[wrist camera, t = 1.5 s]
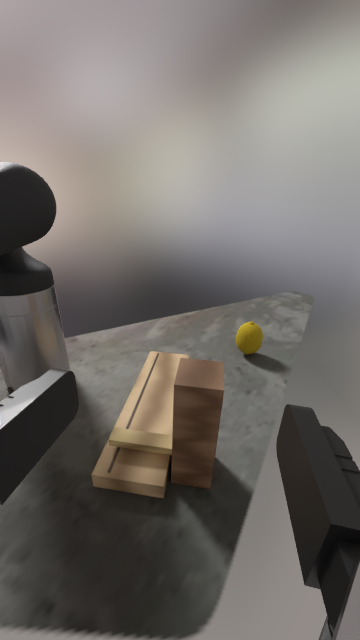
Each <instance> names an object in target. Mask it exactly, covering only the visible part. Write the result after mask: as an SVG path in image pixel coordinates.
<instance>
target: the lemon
mask: <svg viewBox="0 0 360 640" xmlns="http://www.w3.org/2000/svg"><path fill="white" fill-rule="evenodd" d="M262 340H263V334H262V330H261V328H260V327H259V326H258V325H257V324H255V323H254V322H249V323H245V324H243V325H242V326H241V327H240V328H239V330H238V332H237V335H236V344H237V347H238V348H239V350H240V351H242V352H243V353H245V354H246V355H248V354H252V353H255V352H256V351H258V350H259V348H260V347H261V344H262Z"/></svg>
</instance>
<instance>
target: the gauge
mask: <svg viewBox="0 0 360 640" xmlns="http://www.w3.org/2000/svg"><path fill="white" fill-rule="evenodd" d="M223 394H224V380H223V362H217V361H207V360H198V359H188V358H180V362H179V366H178V370H177V374H176V378H175V382H174V398H173V433H172V435H166V434H159V433H151V432H144V431H137V430H130V429H123V428H116V427H114V429H113V431H112V433H111V435H110V437H109V439H108V442H109V446H115V447H121V448H128V449H134V450H141V451H148V452H154V453H161V454H168V455H172V467H171V483H175V484H181V485H187V486H193V487H199V488H205V489H211V482H212V475H213V467H214V460H215V453H216V445H217V438H218V431H219V424H220V416H221V409H222V402H223Z"/></svg>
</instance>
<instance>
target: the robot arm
mask: <svg viewBox="0 0 360 640" xmlns="http://www.w3.org/2000/svg"><path fill="white" fill-rule="evenodd" d="M55 216H56V201H55V198H54V195H53V192H52V190H51V189H50V187H49V186H48V184H47V183H46V182H45V181H44V179H43V178H42V177H40V176H39V175H38V174H37V173H36V172H34V171H32V170H31V169H29V168H27V167H24V166H22V165H19V164H15V163H11V162H0V367H1V370H2V373H3V376H4V379H5V382H6V385H7V387H11V388H12V389H13V391H14V392H13V393H12V394H11V395H9V397H8V398H5V399H4V400H3V401H1V402H0V504H1V505H2V504H3V503H4V502H5V501H6V500H7V498H8V497H9V496H10V495H11V494H12V492H13V491H14V490H15V489H16V488H17V486H18V485H19V484H20V483H21V481H22V480H23V479H24V478H25V477H26V475H27V474H28V473H29V472H30V471H31V469H32V468H33V467H34V466H35V465H36V463H37V462H38V461H39V460H40V459H41V457H42V456H43V455H44V454H45V452H46V451H47V450H48V449H49V448H50V446H51V445H52V444H53V443H54V442H55V440H56V439H57V438H58V437H59V436H60V434H61V433H62V432H63V431H64V430H65V428H66V427H67V426H68V425H69V423H70V422H71V421H72V420H73V419H74V417H75V415H76V413H77V410H78V396H77V389H76V381H75V375H74V373H73V372H72V371H70V367H69V361H68V356H67V350H66V345H65V340H64V334H63V329H62V324H61V318H60V313H59V308H58V302H57V297H56V292H55V286H54V280H53V275H52V271H51V269H50V268H49V267H48V266H47V265H46V264H43V263H41V262H40V261H37V260H36V259H34V258H32V257H31V256H30V255H28V254H27V253H26V252H25V251H24V250H23V248H22V246H25V245H27V244H30V243H32V242H34V241H37V240H39V239H40V238H42V237H43V236H45V235H46V234H47V233H48V231H49V230H50V229H51V227H52V225H53V223H54V220H55ZM277 458H278V462H279V467H280V472H281V477H282V481H283V486H284V491H285V495H286V500H287V505H288V509H289V514H290V519H291V524H292V528H293V533H294V538H295V542H296V547H297V552H298V556H299V561H300V565H301V570H302V575H303V580H304V584H305V585H307V586H310V587H314V588H318V589H321V592H322V596H323V600H324V604H325V608H326V612H327V618H326V620H325V623H324V626H323V629H322V632H321V635H320V637H319V640H360V471H359V469H358V467H357V466H356V463H355V462H354V461H353V460H352V456H351V454H350V452H349V450H348V449H347V447H346V445H345V443H344V441H343V440H342V439H341V438H340V437H339V436H338V435H337V434H336V433H335V432H333V430H332V429H331V428H330V427H326V426H321V425H320V423H319V421H318V419H317V417H316V415H315V413H314V411H313V409H312V408H308V407H302V406H296V405H289V404H287V405H286V407H285V409H284V413H283V417H282V421H281V425H280V429H279V433H278V437H277Z"/></svg>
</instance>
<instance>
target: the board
mask: <svg viewBox="0 0 360 640" xmlns="http://www.w3.org/2000/svg"><path fill="white" fill-rule="evenodd" d="M180 358H188V359H189V355H183V354H173V353H163V352H153V351H151V352H150V354H149V356H148V358H147V360H146V362H145V364H144V366H143V368H142V370H141V373H140V375H139V377H138V379H137V381H136V383H135V385H134V387H133V389H132V391H131V393H130V395H129V397H128V400H127V402H126V404H125V406H124V408H123V410H122V412H121V414H120V416H119V418H118V420H117V422H116V424H115V427H116V428H123V429H130V430H137V431H144V432H151V433H159V434H166V435H172V433H173V398H174V382H175V378H176V374H177V370H178V366H179V362H180ZM171 456H172V455H168V454H161V453H154V452H148V451H141V450H134V449H128V448H121V447H115V446H109V442H108V441H107V443H106V445H105V447H104V449H103V451H102V454H101V456H100V458H99V460H98V462H97V464H96V466H95V468H94V470H93V472H92V474H91V476H92V481H93V486H94V487H100V488H106V489H111V490H117V491H123V492H129V493H135V494H141V495H146V496H152V497H158V498H164V494H165V489H166V483H167V478H168V472H169V467H170V462H171Z"/></svg>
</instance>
